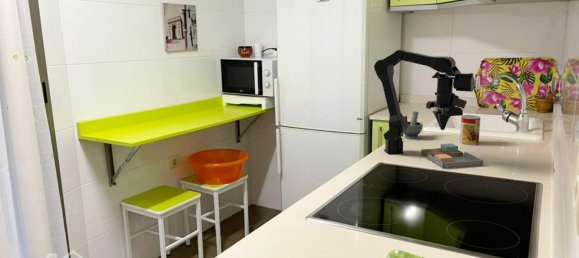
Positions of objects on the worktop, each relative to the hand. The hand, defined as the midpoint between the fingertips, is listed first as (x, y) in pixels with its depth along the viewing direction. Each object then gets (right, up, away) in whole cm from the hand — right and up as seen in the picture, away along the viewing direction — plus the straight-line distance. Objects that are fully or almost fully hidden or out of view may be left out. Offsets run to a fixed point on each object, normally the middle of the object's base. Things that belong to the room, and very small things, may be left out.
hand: (442, 129), depth 176 cm
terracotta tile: (0, -12, -1) cm, 12 cm away
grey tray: (+4, -13, -2) cm, 13 cm away
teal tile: (+6, -8, +9) cm, 13 cm away
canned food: (+21, -6, +26) cm, 33 cm away
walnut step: (+2, -10, +8) cm, 13 cm away
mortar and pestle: (-2, -4, +38) cm, 38 cm away
